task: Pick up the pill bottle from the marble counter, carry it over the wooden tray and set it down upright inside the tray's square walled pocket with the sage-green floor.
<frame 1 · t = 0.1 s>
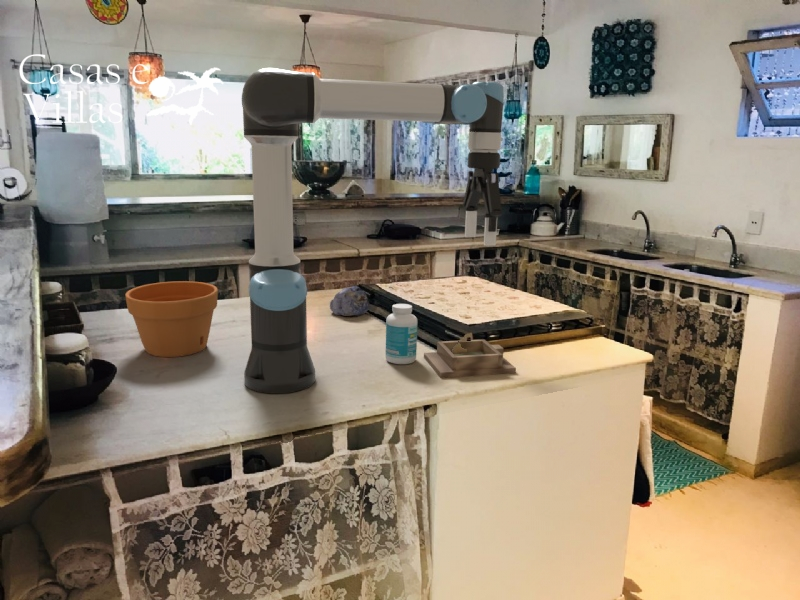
hand: (479, 241, 157), 28 cm above the countertop, fingers open, 13 cm apart
wooden tray: (468, 365, 153), on the countertop
flower pot: (176, 349, 160), on the countertop
pill bottle: (400, 361, 155), on the countertop
rock: (347, 314, 196), on the countertop
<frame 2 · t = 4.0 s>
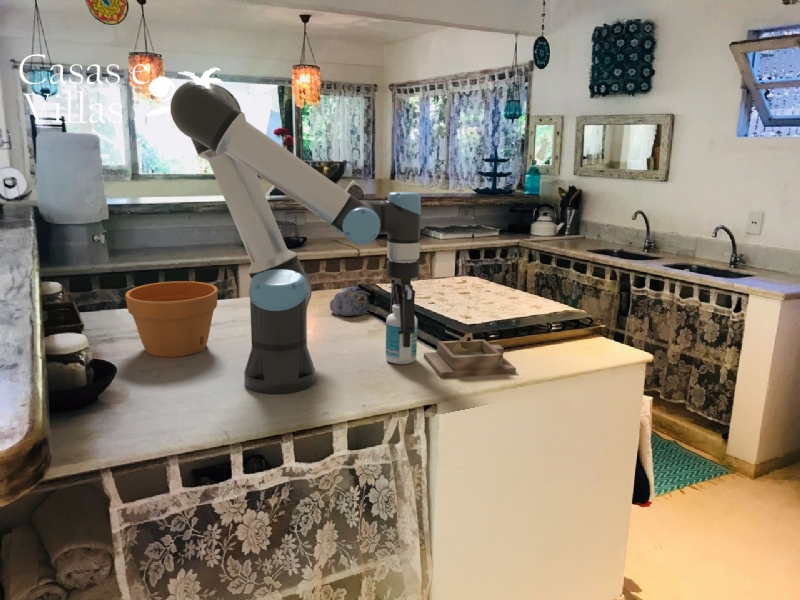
hand: (401, 353, 155), 2 cm above the countertop, fingers closed on pill bottle, 7 cm apart
pill bottle: (400, 361, 155), on the countertop, touching gripper
everything else where it was.
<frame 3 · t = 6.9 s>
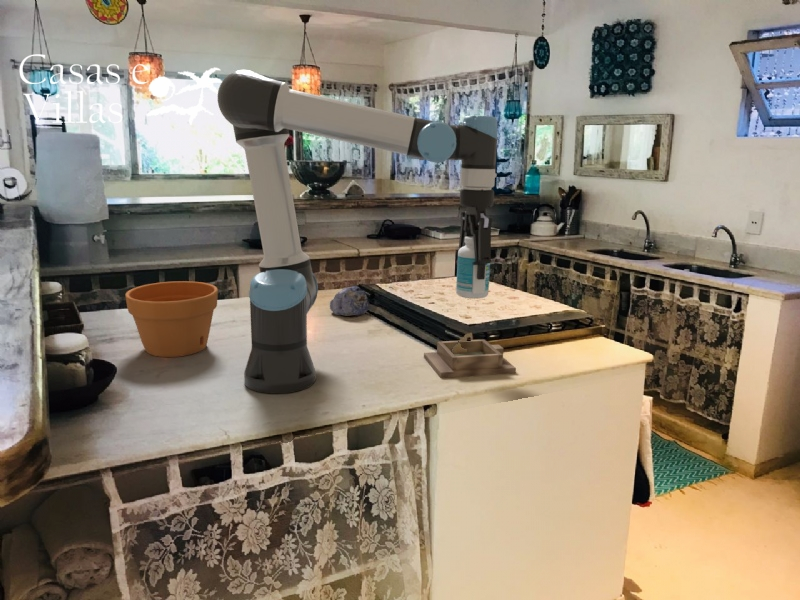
hand: (472, 288, 148), 19 cm above the countertop, fingers closed on pill bottle, 7 cm apart
pill bottle: (472, 296, 149), point 17 cm above the countertop, touching gripper
everything else where it was.
when the fingers open (5 cm above the countertop, at t = 10.1 s): pill bottle drops 1 cm, resting on wooden tray.
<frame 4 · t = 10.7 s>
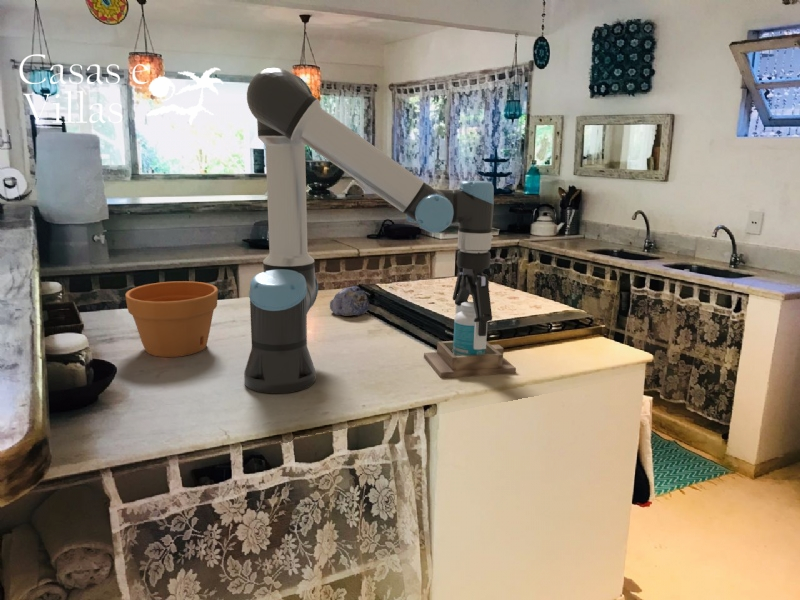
hand: (469, 339, 151), 6 cm above the countertop, fingers open, 13 cm apart
pill bottle: (468, 360, 152), point 1 cm above the countertop, touching wooden tray
everything else where it was.
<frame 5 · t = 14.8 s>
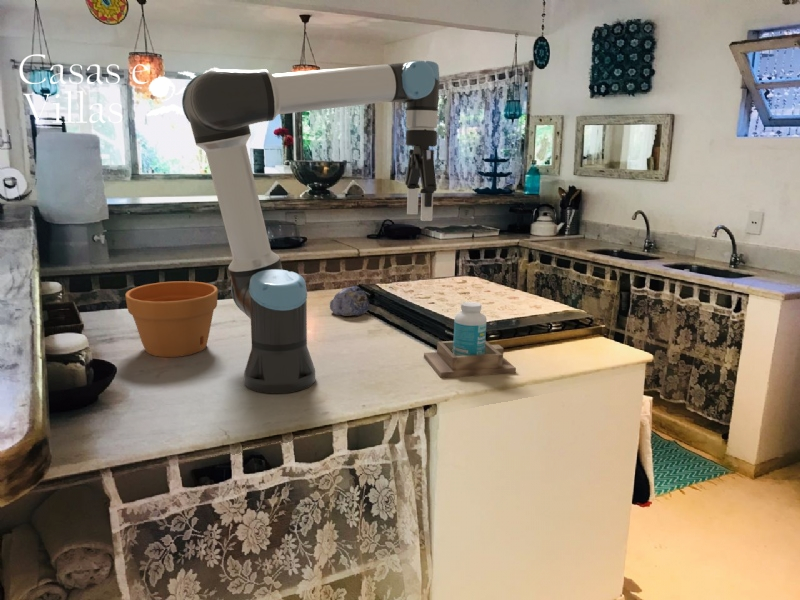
hand: (419, 217, 161), 33 cm above the countertop, fingers open, 13 cm apart
nothing on the countertop moved.
at the end: pill bottle inside the target area on the wooden tray (0.1 cm from its centre), point 1.2 cm above the wooden tray's base; pill bottle tilted 0°; the gripper is holding nothing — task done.
